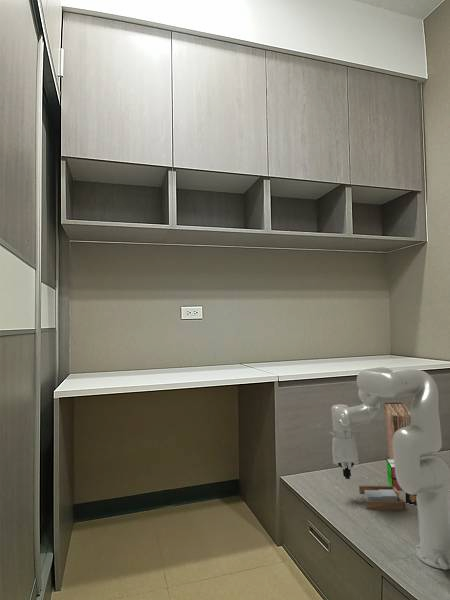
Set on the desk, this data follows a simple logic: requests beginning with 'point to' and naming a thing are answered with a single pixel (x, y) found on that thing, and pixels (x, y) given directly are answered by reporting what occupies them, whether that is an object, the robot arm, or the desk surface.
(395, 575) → the desk surface
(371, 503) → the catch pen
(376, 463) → the desk surface
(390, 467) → the puzzle cube
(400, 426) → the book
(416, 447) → the robot arm
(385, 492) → the tile
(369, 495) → the tile trail
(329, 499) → the desk surface
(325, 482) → the desk surface
